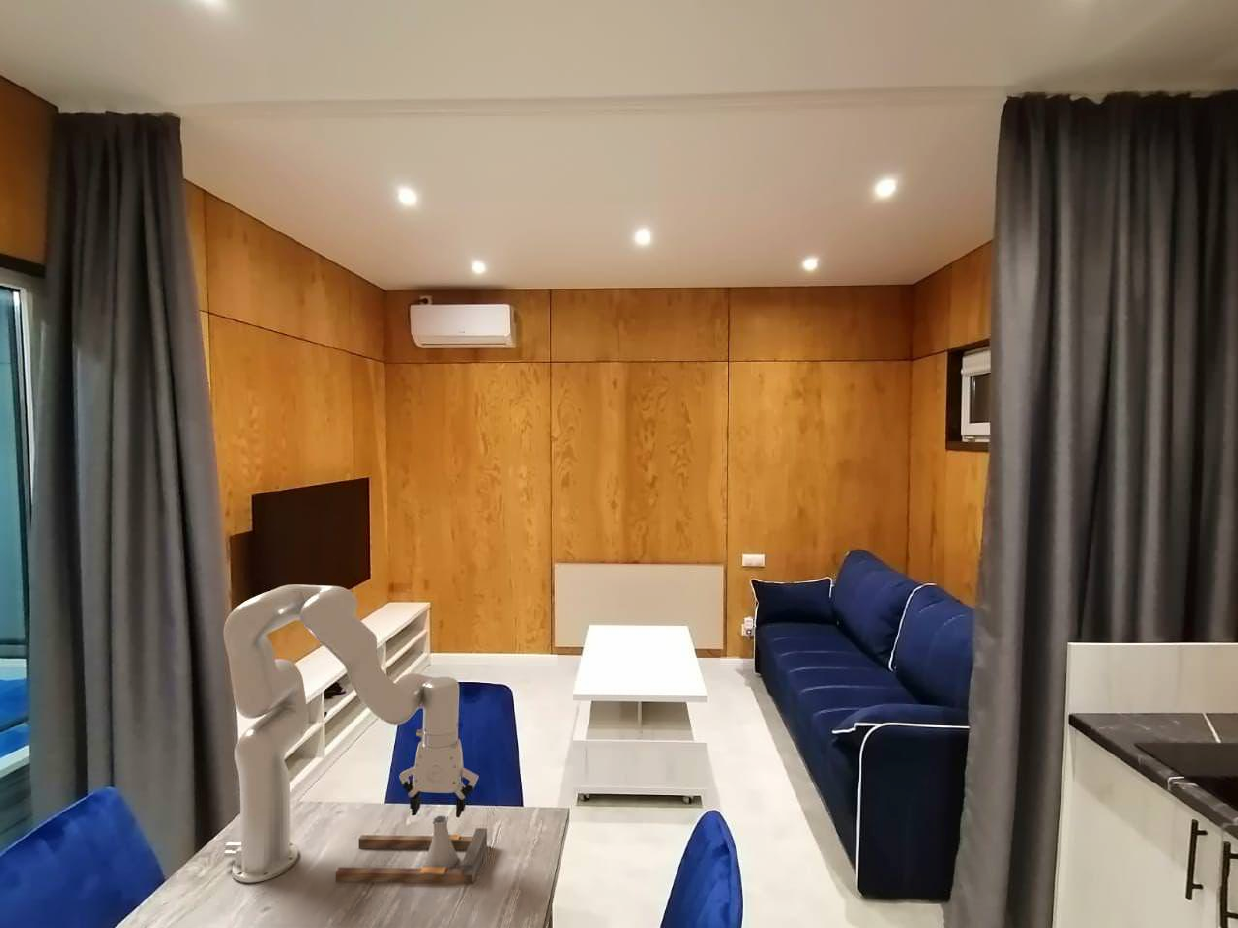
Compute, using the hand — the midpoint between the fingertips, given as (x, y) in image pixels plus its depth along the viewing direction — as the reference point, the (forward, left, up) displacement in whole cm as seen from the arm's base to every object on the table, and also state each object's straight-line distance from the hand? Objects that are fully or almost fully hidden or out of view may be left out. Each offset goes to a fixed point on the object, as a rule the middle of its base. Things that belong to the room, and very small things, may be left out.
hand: (437, 812), depth 135 cm
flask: (+1, 0, -12) cm, 12 cm away
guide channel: (-5, 0, -11) cm, 13 cm away
